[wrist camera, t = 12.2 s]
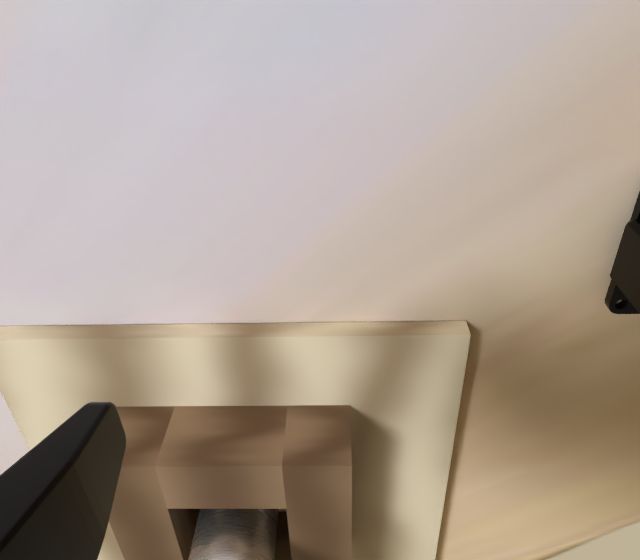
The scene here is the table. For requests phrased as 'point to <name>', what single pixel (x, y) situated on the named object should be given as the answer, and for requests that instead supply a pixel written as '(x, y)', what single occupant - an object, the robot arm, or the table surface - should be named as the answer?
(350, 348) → the socket holder
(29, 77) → the table surface
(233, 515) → the peg
